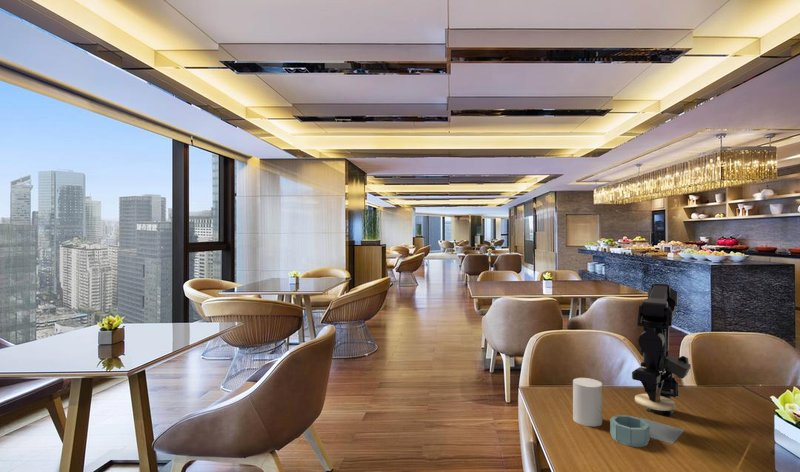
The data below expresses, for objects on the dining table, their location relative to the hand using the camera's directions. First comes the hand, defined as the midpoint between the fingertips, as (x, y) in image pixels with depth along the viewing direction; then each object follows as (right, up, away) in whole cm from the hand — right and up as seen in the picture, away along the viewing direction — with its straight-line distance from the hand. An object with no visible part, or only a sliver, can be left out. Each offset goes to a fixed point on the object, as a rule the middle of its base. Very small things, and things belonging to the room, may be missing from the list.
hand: (654, 399), depth 124 cm
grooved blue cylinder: (-10, -9, -5) cm, 15 cm away
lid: (0, -1, 0) cm, 1 cm away
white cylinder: (-17, -9, +7) cm, 20 cm away
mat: (0, -9, 0) cm, 9 cm away
